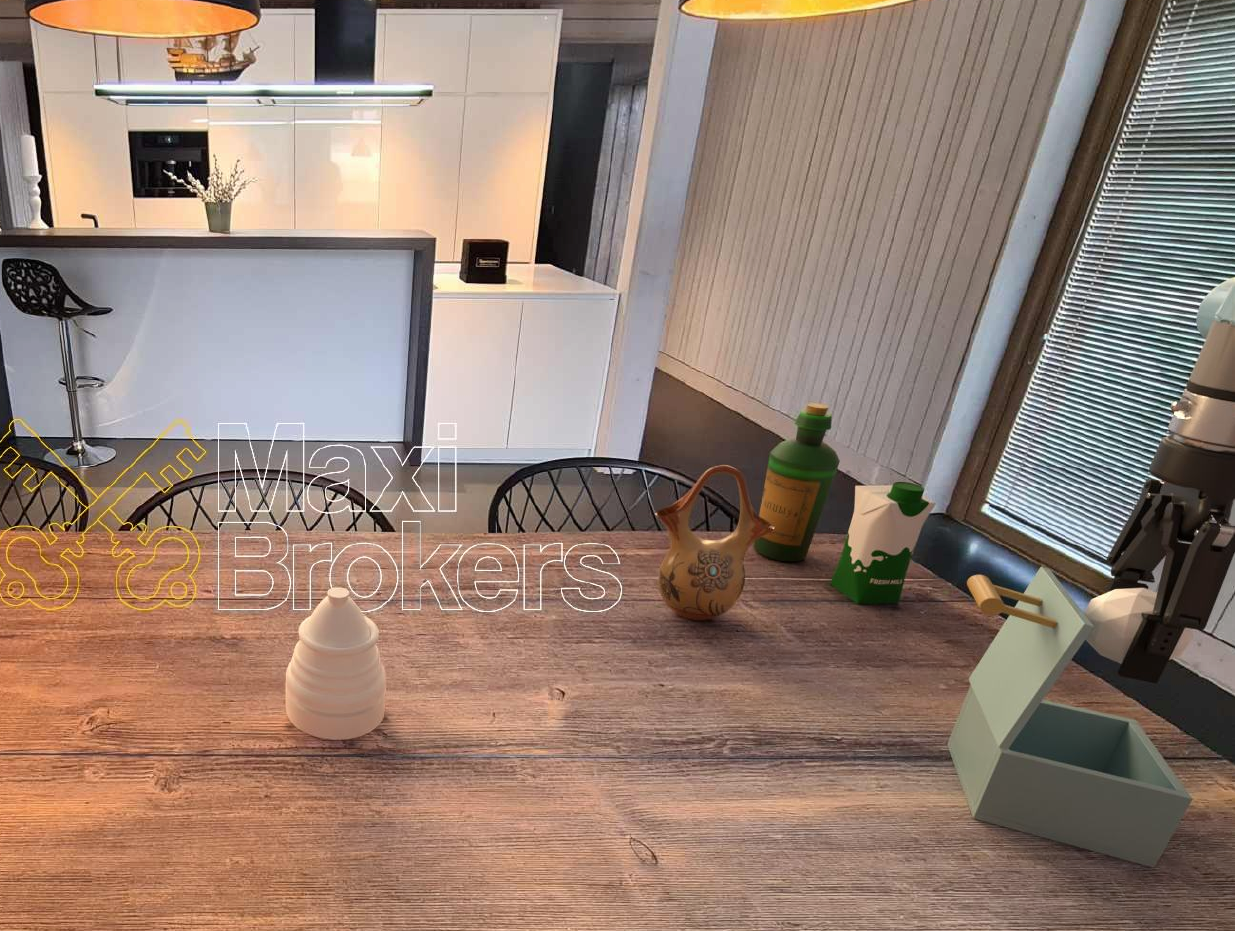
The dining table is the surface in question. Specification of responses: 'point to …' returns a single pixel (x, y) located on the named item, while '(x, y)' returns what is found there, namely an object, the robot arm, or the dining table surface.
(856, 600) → the milk carton
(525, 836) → the dining table surface
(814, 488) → the bottle
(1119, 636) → the geometric ball
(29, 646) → the dining table surface
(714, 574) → the ceramic vessel
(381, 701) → the honey pot
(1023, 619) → the compartment door
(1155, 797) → the compartment
